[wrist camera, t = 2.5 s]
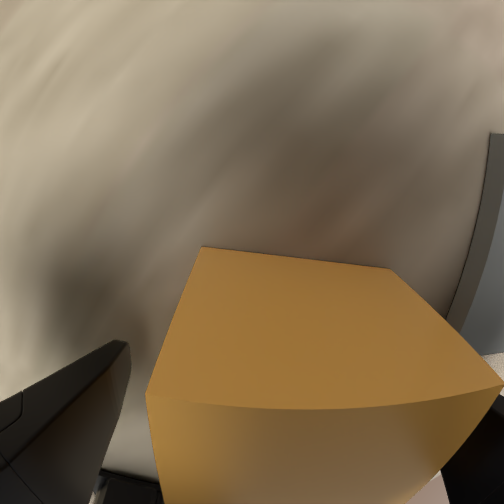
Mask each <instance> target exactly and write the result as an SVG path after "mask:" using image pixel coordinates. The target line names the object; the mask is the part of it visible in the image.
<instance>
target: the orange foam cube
mask: <svg viewBox="0 0 504 504" xmlns="http://www.w3.org/2000/svg"><path fill="white" fill-rule="evenodd" d="M503 387H504V381H503V380H502V379H501V378H500V377H499V376H498V375H497V373H496V372H495V371H494V370H493V369H492V368H491V367H490V366H489V365H488V364H487V362H486V361H485V360H484V359H483V358H482V357H481V356H480V355H479V354H478V353H477V352H476V351H475V350H474V349H473V348H472V347H471V346H470V345H469V344H468V343H467V341H466V340H465V339H464V338H463V337H462V336H461V335H460V334H459V333H458V332H457V331H456V330H455V329H454V328H453V327H452V326H451V325H450V324H449V323H448V322H447V321H446V320H445V319H444V318H442V317H441V316H440V315H439V314H438V313H437V312H436V311H435V310H434V309H433V308H432V307H431V306H430V305H429V304H428V303H427V302H426V301H425V300H424V299H423V298H421V297H420V296H419V295H418V294H417V293H416V292H415V291H414V290H413V289H412V288H411V287H410V286H408V285H407V284H406V283H405V282H404V281H403V280H402V279H401V278H400V277H399V276H397V275H396V274H395V273H394V272H393V271H392V270H391V269H386V268H378V267H369V266H361V265H353V264H344V263H336V262H327V261H319V260H311V259H302V258H294V257H285V256H277V255H268V254H260V253H252V252H243V251H235V250H227V249H218V248H210V247H201V249H200V251H199V254H198V256H197V259H196V261H195V263H194V266H193V268H192V271H191V273H190V276H189V278H188V281H187V283H186V286H185V288H184V291H183V293H182V296H181V298H180V301H179V303H178V306H177V308H176V311H175V314H174V316H173V319H172V321H171V324H170V327H169V329H168V332H167V334H166V337H165V340H164V343H163V345H162V348H161V351H160V353H159V356H158V359H157V362H156V364H155V367H154V370H153V373H152V376H151V378H150V381H149V384H148V387H147V390H146V393H145V397H146V405H147V413H148V420H149V427H150V433H151V439H152V445H153V451H154V456H155V461H156V467H157V472H158V476H159V481H160V486H161V490H162V494H163V499H164V503H165V504H405V503H406V502H407V501H409V500H410V499H411V498H412V497H413V496H414V495H415V494H416V493H417V492H418V491H420V490H421V489H422V488H423V486H425V485H426V484H427V483H428V482H429V481H430V480H431V479H432V478H433V477H434V476H435V475H436V474H437V473H438V471H439V470H440V469H441V468H442V467H443V466H444V465H445V464H446V463H447V462H448V461H449V459H450V458H451V457H452V456H453V455H454V454H455V453H456V451H457V450H458V449H459V448H460V447H461V445H462V444H463V443H464V442H465V441H466V439H467V438H468V437H469V436H470V434H471V433H472V432H473V430H474V429H475V428H476V426H477V425H478V424H479V422H480V421H481V420H482V418H483V417H484V415H485V414H486V413H487V411H488V410H489V408H490V407H491V405H492V404H493V402H494V401H495V399H496V398H497V396H498V395H499V393H500V392H501V390H502V388H503Z"/></svg>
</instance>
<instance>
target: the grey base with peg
mask: <svg viewBox="0 0 504 504" xmlns="http://www.w3.org/2000/svg"><path fill="white" fill-rule="evenodd" d="M446 321H447V322H448V323H449V324H450V325H451V326H452V327H453V328H454V329H455V330H456V331H457V332H458V333H459V334H460V335H461V336H462V337H463V338H464V339H465V340H466V341H467V343H468V344H469V345H470V346H471V347H472V348H473V349H474V350H475V351H476V352H477V353H478V354H479V355H480V356H481V355H489V354H496V353H503V352H504V134H493V133H491V136H490V146H489V155H488V163H487V171H486V177H485V183H484V189H483V195H482V200H481V205H480V210H479V214H478V219H477V223H476V227H475V231H474V235H473V239H472V243H471V247H470V250H469V254H468V257H467V261H466V264H465V267H464V270H463V274H462V277H461V280H460V283H459V286H458V289H457V291H456V294H455V297H454V300H453V302H452V305H451V308H450V310H449V313H448V315H447V318H446Z"/></svg>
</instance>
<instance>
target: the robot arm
mask: <svg viewBox="0 0 504 504" xmlns="http://www.w3.org/2000/svg"><path fill="white" fill-rule="evenodd" d="M130 374H131V356H130V347H129V344H128V343H127V342H125V341H120V340H112V341H111V342H109V343H107V344H105V345H104V346H102V347H100V348H98V349H96V350H95V351H93V352H91V353H89V354H87V355H86V356H84V357H82V358H80V359H78V360H77V361H75V362H73V363H71V364H69V365H68V366H66V367H64V368H62V369H60V370H59V371H57V372H55V373H53V374H51V375H50V376H48V377H46V378H44V379H42V380H41V381H39V382H37V383H35V384H33V385H31V386H30V387H28V388H26V389H24V390H23V392H22V391H20V392H19V393H17V394H15V395H13V396H11V397H9V398H7V399H5V400H3V401H1V402H0V504H89V501H90V498H91V495H92V492H94V493H95V495H96V496H95V499H94V502H93V504H165V503H164V499H163V494H162V490H161V486H160V485H158V484H153V483H148V482H144V481H139V480H135V479H131V478H127V477H123V476H119V475H115V474H112V473H108V472H105V471H101V470H100V468H101V466H102V463H103V460H104V457H105V454H106V451H107V449H108V446H109V443H110V441H111V438H112V435H113V433H114V430H115V427H116V425H117V422H118V419H119V416H120V412H121V409H122V405H123V401H124V397H125V393H126V389H127V385H128V381H129V377H130ZM440 471H441V474H442V477H443V481H444V485H445V488H446V491H447V495H448V499H449V503H450V504H504V397H503V396H502V395H500V394H499V395H498V396H497V398H496V399H495V401H494V402H493V404H492V405H491V407H490V408H489V410H488V411H487V413H486V414H485V415H484V417H483V418H482V420H481V421H480V422H479V424H478V425H477V426H476V428H475V429H474V430H473V432H472V433H471V434H470V436H469V437H468V438H467V439H466V441H465V442H464V443H463V444H462V445H461V447H460V448H459V449H458V450H457V451H456V453H455V454H454V455H453V456H452V457H451V458H450V459H449V461H448V462H447V463H446V464H445V465H444V466H443V467H442V468H441V469H440Z"/></svg>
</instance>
